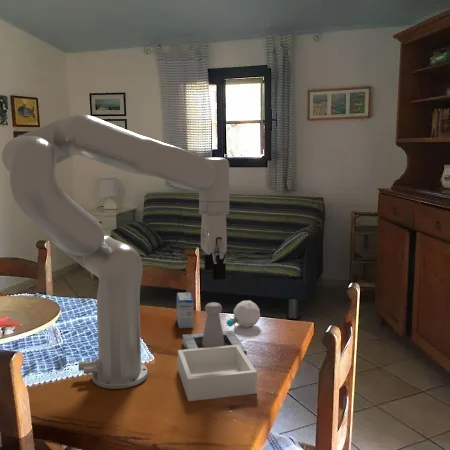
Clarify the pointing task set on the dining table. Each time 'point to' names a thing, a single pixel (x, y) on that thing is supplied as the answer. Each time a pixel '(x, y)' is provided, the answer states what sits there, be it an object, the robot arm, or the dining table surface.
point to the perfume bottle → (245, 314)
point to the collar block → (196, 339)
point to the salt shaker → (213, 326)
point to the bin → (216, 372)
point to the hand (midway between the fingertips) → (214, 274)
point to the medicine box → (185, 310)
